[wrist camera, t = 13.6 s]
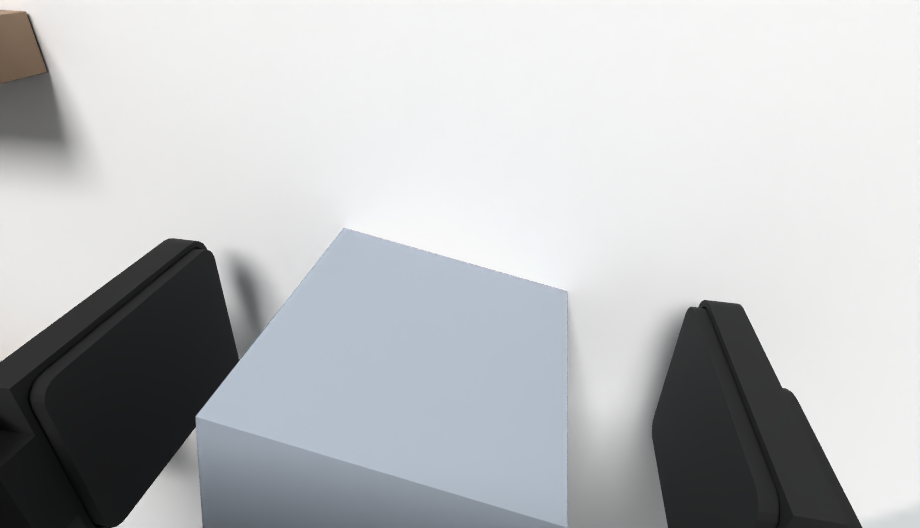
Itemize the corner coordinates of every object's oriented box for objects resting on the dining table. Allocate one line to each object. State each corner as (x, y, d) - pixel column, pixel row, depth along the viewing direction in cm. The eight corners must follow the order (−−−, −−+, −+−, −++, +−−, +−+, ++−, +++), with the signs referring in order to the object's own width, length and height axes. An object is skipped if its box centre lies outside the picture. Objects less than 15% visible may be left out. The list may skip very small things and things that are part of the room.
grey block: (345, 226, 10) (196, 416, 6) (567, 289, 10) (567, 527, 6) (325, 386, 13) (208, 602, 9) (505, 439, 13) (475, 684, 9)
